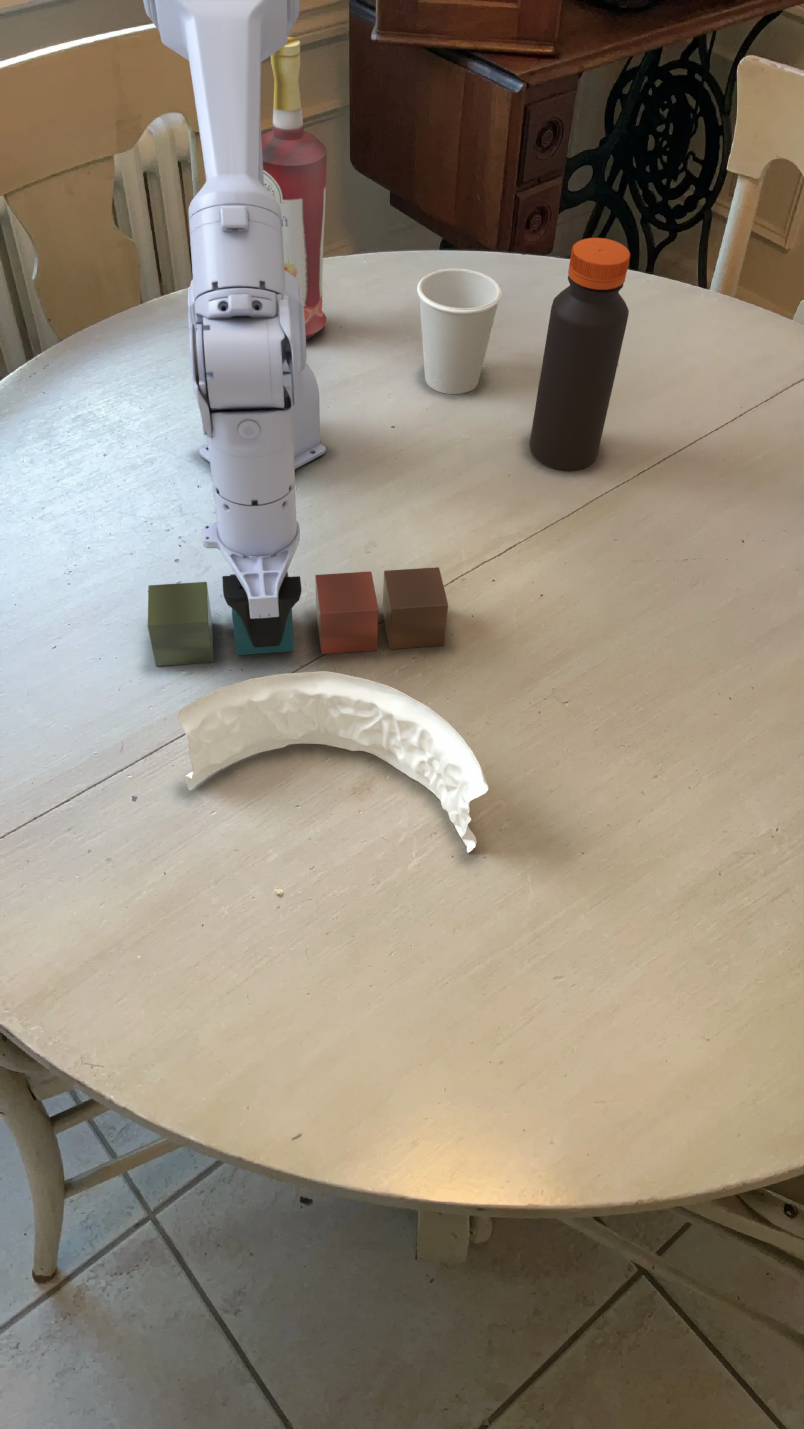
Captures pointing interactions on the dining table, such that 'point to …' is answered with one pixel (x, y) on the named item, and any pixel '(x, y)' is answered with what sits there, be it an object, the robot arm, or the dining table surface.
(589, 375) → the bottle
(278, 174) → the liquor
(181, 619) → the block row
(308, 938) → the dining table surface
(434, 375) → the dixie cup
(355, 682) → the curved plaster moulding
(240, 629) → the teal block
